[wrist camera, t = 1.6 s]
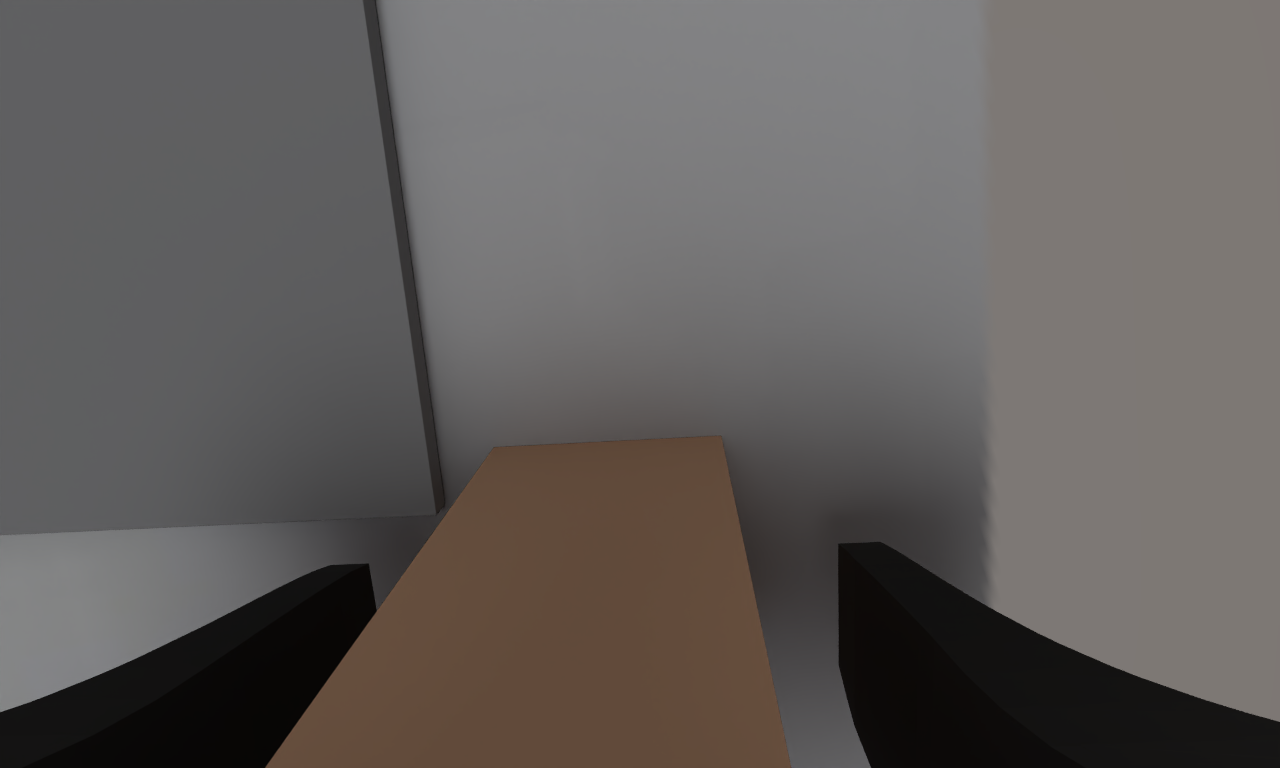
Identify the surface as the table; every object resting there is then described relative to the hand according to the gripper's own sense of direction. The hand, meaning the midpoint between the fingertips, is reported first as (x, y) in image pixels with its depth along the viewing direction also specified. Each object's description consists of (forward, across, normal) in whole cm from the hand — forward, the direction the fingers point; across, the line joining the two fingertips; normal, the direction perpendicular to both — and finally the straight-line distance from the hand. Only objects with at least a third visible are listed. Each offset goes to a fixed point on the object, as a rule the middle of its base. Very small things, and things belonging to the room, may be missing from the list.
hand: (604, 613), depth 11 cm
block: (+2, 0, 0) cm, 2 cm away
